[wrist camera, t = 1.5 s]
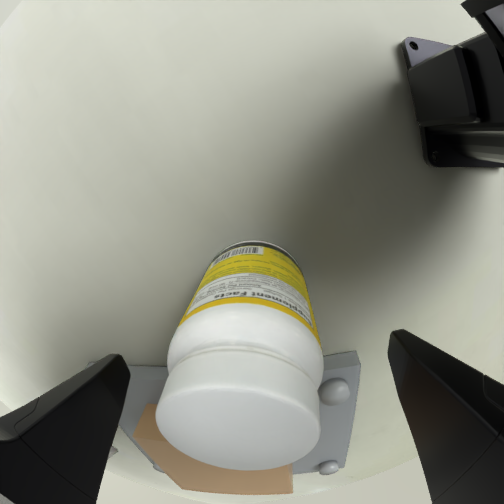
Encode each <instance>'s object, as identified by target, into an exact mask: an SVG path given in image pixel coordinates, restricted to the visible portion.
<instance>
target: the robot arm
mask: <svg viewBox="0 0 504 504" xmlns="http://www.w3.org/2000/svg"><path fill="white" fill-rule="evenodd" d="M461 5H462V7H463V8H464V9H465V10H466V11H467V12H468V14H469V15H470V16H471V17H472V18H473V17H474V18H475V19H476V20H477V22H478V23H479V24H480V25H481V27H482V28H483V29H484V31H485V32H484V33H482V34H479V35H477V36H475V37H473V38H470V39H468V40H466V41H464V42H462V43H459V44H457V45H453V46H451V45H447V44H443V43H439V42H435V41H430V40H425V39H420V38H414V37H407V38H406V39H405V40H403V41H402V49H403V52H404V56H405V59H406V63H407V67H408V72H407V74H408V78H409V82H410V87H411V91H412V96H413V101H414V106H415V112H416V117H417V122H418V123H419V124H420V131H421V138H422V147H423V156H424V160H425V162H426V163H427V164H428V165H429V166H432V167H503V168H504V0H466V1H464V2H463V3H461ZM409 44H411V45H412V46H414V48H415V50H413V49H412V48H411V47H410V45H409ZM433 152H434V153H435V155H436V159H435V160H433V159H432V153H433ZM388 359H389V363H390V366H391V370H392V374H393V377H394V381H395V385H396V389H397V393H398V397H399V400H400V403H401V405H402V408H403V411H404V413H405V416H406V419H407V422H408V424H409V427H410V430H411V433H412V436H413V439H414V442H415V445H416V448H417V451H418V454H419V458H420V461H421V464H422V468H423V471H424V474H425V478H426V482H427V485H428V489H429V493H430V496H431V500H432V504H504V385H503V384H501V383H500V382H498V381H496V380H494V379H492V378H490V377H489V376H487V375H484V374H483V373H481V372H480V371H478V370H476V369H474V368H472V367H471V366H469V365H467V364H465V363H464V362H462V361H460V360H458V359H457V358H455V357H453V356H451V355H449V354H448V353H446V352H444V351H442V350H440V349H439V348H437V347H435V346H433V345H432V344H430V343H428V342H426V341H424V340H423V339H421V338H419V337H417V336H415V335H414V334H412V333H410V332H408V331H406V330H404V329H399V330H395V331H392V332H391V334H390V339H389V346H388ZM130 377H131V374H130V370H129V368H128V367H127V365H126V363H125V361H124V359H123V357H122V356H121V355H119V354H109V355H108V356H106V357H104V358H103V359H101V360H100V361H98V362H96V363H95V364H93V365H91V366H90V367H88V368H86V369H85V370H83V371H81V372H80V373H78V374H76V375H75V376H73V377H71V378H70V379H68V380H66V381H65V382H63V383H61V384H60V385H58V386H56V387H55V388H53V389H51V390H50V391H48V392H46V393H45V394H43V395H41V396H40V397H38V398H36V399H35V400H33V401H31V402H29V403H28V404H26V405H24V406H22V407H20V408H18V409H16V410H14V411H12V412H10V413H8V414H6V415H4V416H2V417H0V504H96V500H97V497H98V493H99V489H100V485H101V481H102V478H103V474H104V470H105V467H106V463H107V460H108V456H109V453H110V449H111V446H112V443H113V440H114V436H115V433H116V430H117V427H118V424H119V421H120V418H121V415H122V411H123V407H124V403H125V399H126V394H127V390H128V386H129V382H130Z"/></svg>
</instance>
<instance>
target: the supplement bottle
mask: <svg viewBox="0 0 504 504" xmlns="http://www.w3.org/2000/svg"><path fill="white" fill-rule="evenodd" d="M167 366H168V372H169V376H168V378H167V381H166V383H165V387H164V389H163V392H162V395H161V397H160V400H159V402H158V405H157V408H156V413H155V416H156V423H157V426H158V428H159V431H160V432H161V434H162V435H163V436H164V437H165V438H166V440H167V441H168V442H169V443H170V444H171V445H173V446H174V447H175V448H176V449H178V450H179V451H181V452H182V453H184V454H186V455H188V456H190V457H191V458H194V459H196V460H198V461H201V462H204V463H206V464H210V465H213V466H217V467H221V468H226V469H233V470H244V471H250V470H266V469H273V468H277V467H281V466H285V465H288V464H290V463H293V462H295V461H297V460H299V459H301V458H303V457H304V456H305V455H307V454H308V453H309V452H310V451H311V450H312V449H313V448H314V447H315V446H316V444H317V442H318V440H319V438H320V433H321V425H320V411H319V396H318V392H317V390H318V388H319V386H320V384H321V381H322V377H323V370H324V362H323V354H322V349H321V344H320V339H319V335H318V332H317V328H316V323H315V319H314V315H313V311H312V307H311V303H310V299H309V295H308V291H307V287H306V283H305V280H304V276H303V273H302V271H301V269H300V267H299V265H298V263H297V262H296V260H295V259H294V258H293V257H292V256H291V255H290V254H289V253H288V252H287V251H285V250H284V249H282V248H281V247H279V246H277V245H274V244H271V243H268V242H264V241H255V240H251V241H243V242H239V243H236V244H233V245H231V246H229V247H227V248H226V249H224V250H223V251H221V252H220V253H219V254H218V255H217V256H216V257H215V258H214V259H213V261H212V262H211V264H210V265H209V267H208V269H207V271H206V273H205V275H204V277H203V279H202V281H201V283H200V285H199V287H198V289H197V291H196V293H195V295H194V297H193V299H192V301H191V302H190V304H189V306H188V308H187V310H186V312H185V314H184V316H183V318H182V320H181V321H180V323H179V325H178V327H177V330H176V332H175V334H174V336H173V338H172V340H171V343H170V346H169V350H168V356H167Z"/></svg>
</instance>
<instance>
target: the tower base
mask: <svg viewBox="0 0 504 504" xmlns="http://www.w3.org/2000/svg"><path fill="white" fill-rule="evenodd" d="M323 362H324V370H323V377H322V381H321V384H320V386H319V388H318V390H317V392H318V396H319V411H320V425H321V433H320V438H319V440H318V442H317V444H316V446H315V447H314V448H313V449H312V450H311V451H310V452H309V453H308V454H307V455H305V456H304V457H303V458H301V459H299V460H297V461H295V462H293V463H290V464H288V465H285V466H281V467H277V468H273V469H266V470H250V471H244V470H233V469H226V468H221V467H217V466H213V465H210V464H206V463H204V462H201V461H198V460H196V459H194V458H191V457H190V456H188V455H186V454H184V453H182V452H181V451H179V450H178V449H176V448H175V447H174V446H173V445H171V444H170V443H169V442H168V441H167V440H166V438H165V437H164V436H163V435H162V434H161V432H160V431H159V428H158V426H157V423H156V416H155V413H156V408H157V405H158V402H159V400H160V397H161V395H162V392H163V389H164V387H165V383H166V381H167V378H168V376H169V372H168V367H155V366H132V365H127V367H128V368H129V370H130V374H131V377H130V382H129V386H128V390H127V394H126V399H125V403H124V407H123V411H122V415H121V418H120V421H119V426H120V427H121V428H122V429H123V431H124V432H125V433H126V434H127V436H128V437H129V438H130V439H131V440H132V441H133V443H134V444H135V445H136V446H137V447H138V448H139V450H140V451H141V452H142V453H143V454H144V455H145V456H146V457H147V458H148V459H149V460H150V462H151V463H152V464H153V465H154V466H153V468H154V469H156V470H157V471H160V472H163V473H166V474H167V475H168V476H169V477H170V478H171V479H172V480H173V481H174V482H175V483H176V484H177V485H178V486H179V487H180V488H181V489H185V490H192V491H200V492H209V493H221V494H241V495H271V494H290V493H293V474H301V473H310V472H318V471H319V472H320V474H322V475H329V474H333V473H336V472H337V471H338V468H344V466H345V461H346V457H347V452H348V447H349V442H350V437H351V432H352V426H353V420H354V414H355V408H356V401H357V394H358V386H359V378H360V368H361V363H360V360H359V358H358V355H357V352H356V351H351V352H346V353H340V354H334V355H328V356H323ZM93 364H95V363H94V362H90V363H89V364H88V365H87V367H86V368H88V367H90V366H91V365H93ZM86 368H85V369H86ZM85 369H84V370H85Z"/></svg>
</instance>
